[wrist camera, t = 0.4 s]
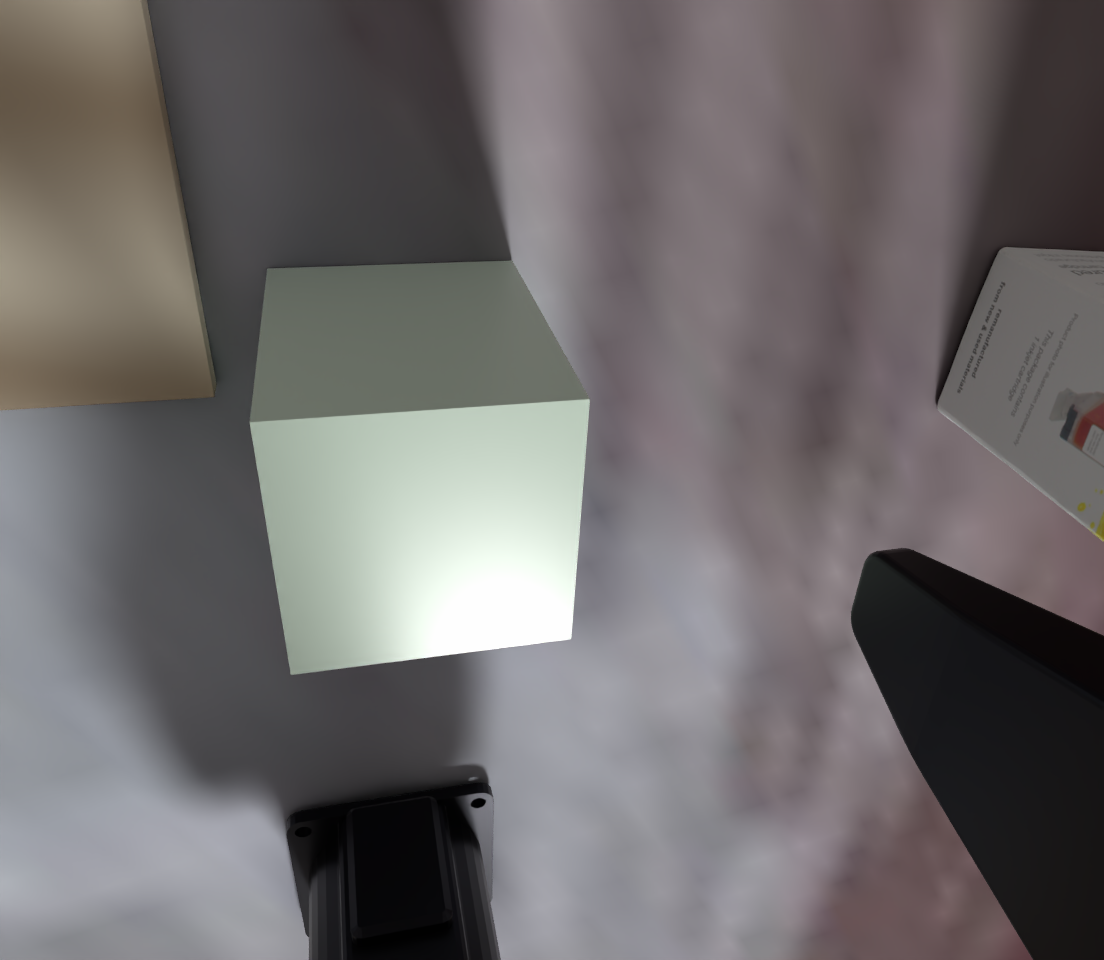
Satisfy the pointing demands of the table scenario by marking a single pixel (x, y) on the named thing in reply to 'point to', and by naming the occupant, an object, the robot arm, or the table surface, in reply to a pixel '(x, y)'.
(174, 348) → the post board
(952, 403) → the ink box
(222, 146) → the table surface
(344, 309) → the mint green box
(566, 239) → the table surface
